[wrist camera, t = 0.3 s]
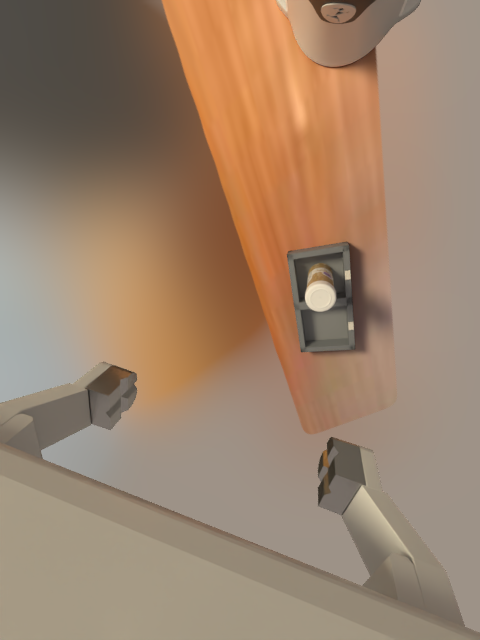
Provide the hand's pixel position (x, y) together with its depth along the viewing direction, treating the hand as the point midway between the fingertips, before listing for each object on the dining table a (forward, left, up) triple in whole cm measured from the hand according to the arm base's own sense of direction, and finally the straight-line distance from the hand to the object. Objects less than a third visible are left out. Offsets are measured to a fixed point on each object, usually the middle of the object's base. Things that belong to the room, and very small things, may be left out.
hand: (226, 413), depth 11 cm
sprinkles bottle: (+6, +6, -46) cm, 47 cm away
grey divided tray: (+11, +7, -46) cm, 47 cm away
